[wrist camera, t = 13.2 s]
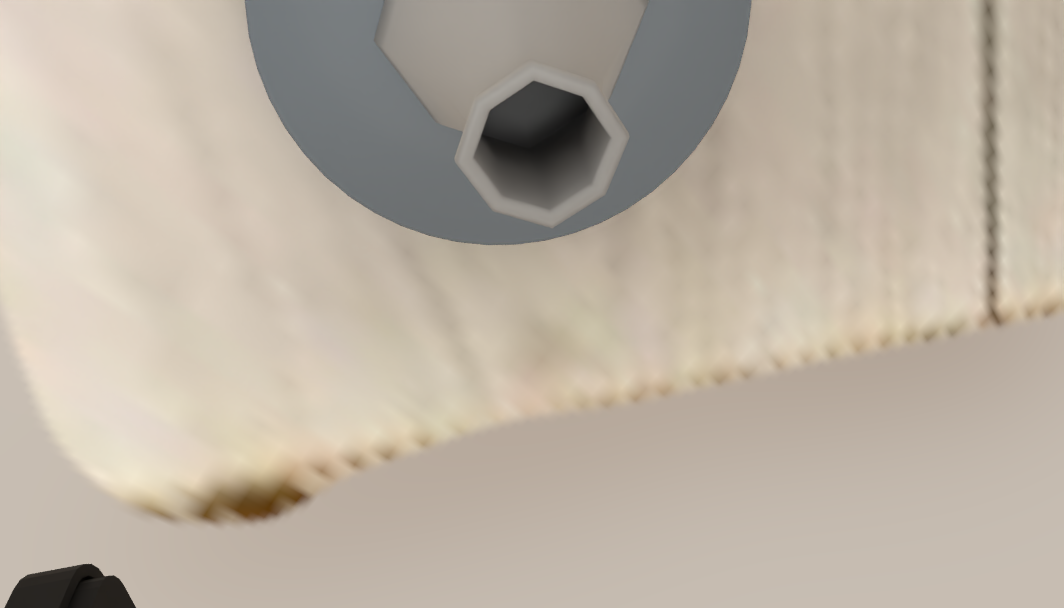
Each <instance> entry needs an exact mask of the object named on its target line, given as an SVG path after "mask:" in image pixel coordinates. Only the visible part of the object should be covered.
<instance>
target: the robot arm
mask: <svg viewBox="0 0 1064 608" xmlns="http://www.w3.org/2000/svg"><path fill="white" fill-rule="evenodd" d="M5 608H136V607H135V605H134V603H133V601H132V600H131V598H130V596H129V594H128V592H127V590H126V588H125V587H124V585H123V583H122V582H121V581H120V579H119V578H117V577H115V576H104V575H103V574H102V572H101V571H100V570H99V568H97V567H95V566H94V565H92V564H83V565H77V566H72V567H67V568H61V569H56V570H51V571H45V572H40V573H35V574H30V575H27V576H25V577H24V578H22V579H21V580H20V581H19V583H18V584H17V585H16V587H15V588H14V590H13V592H12V594H11V596H10V598H9V600H8V602H7V604H6V606H5Z"/></svg>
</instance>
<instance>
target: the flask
mask: <svg viewBox="0 0 1064 608" xmlns="http://www.w3.org/2000/svg"><path fill="white" fill-rule="evenodd" d="M648 3H649V0H385V1H384V5H383V9H382V12H381V16H380V19H379V23H378V27H377V30H376V34H375V38H374V42H375V43H376V45H377V46H378V47H379V48H380V50H381V51H382V52H383V54H384V55H385V56H386V58H387V59H388V60H389V62H390V63H391V64H392V65H393V67H394V68H395V69H396V71H397V72H398V73H399V75H400V76H401V77H402V79H403V80H404V81H405V83H406V84H407V85H408V86H409V88H410V89H411V90H412V92H413V93H414V94H415V96H416V97H417V98H418V100H419V101H420V102H421V104H422V105H423V106H424V107H425V109H426V110H427V111H428V113H429V114H430V115H431V117H432V118H433V119H434V121H435V122H437V123H439V124H441V125H444V126H447V127H450V128H453V129H456V130H459V131H462V132H463V134H462V137H461V140H460V143H459V146H458V149H457V152H456V155H455V158H454V159H455V163H456V164H457V165H458V167H459V168H460V169H461V171H462V172H463V173H464V175H465V176H466V177H467V178H468V180H469V181H470V182H471V184H472V185H473V186H474V188H475V189H476V190H477V191H478V193H479V194H480V195H481V197H482V198H483V199H484V201H485V202H486V203H487V204H488V206H489V207H490V208H491V210H492V211H494V212H497V213H501V214H504V215H508V216H511V217H515V218H518V219H522V220H525V221H529V222H532V223H536V224H539V225H543V226H546V227H550V228H554V227H555V226H557V225H558V224H560V223H562V222H563V221H565V220H566V219H568V218H569V217H571V216H573V215H574V214H576V213H577V212H579V211H580V210H582V209H584V208H585V207H587V206H588V205H590V204H592V203H593V202H595V201H596V200H598V199H599V198H601V197H603V196H604V195H606V192H607V190H608V188H609V185H610V183H611V180H612V178H613V176H614V173H615V171H616V168H617V166H618V164H619V161H620V159H621V156H622V154H623V152H624V149H625V147H626V145H627V142H628V140H629V137H630V136H629V133H628V131H627V130H626V128H625V127H624V125H623V124H622V122H621V120H620V119H619V117H618V116H617V114H616V113H615V111H614V110H613V108H612V107H611V105H610V104H609V102H608V100H609V98H610V97H611V95H612V93H613V90H614V88H615V85H616V83H617V80H618V78H619V75H620V73H621V70H622V68H623V65H624V63H625V60H626V58H627V55H628V53H629V50H630V48H631V45H632V43H633V40H634V38H635V35H636V33H637V30H638V28H639V25H640V23H641V20H642V18H643V15H644V13H645V10H646V8H647V5H648Z"/></svg>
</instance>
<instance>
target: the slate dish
mask: <svg viewBox="0 0 1064 608" xmlns="http://www.w3.org/2000/svg"><path fill="white" fill-rule="evenodd" d="M384 1H385V0H245V6H246V15H247V23H248V31H249V38H250V42H251V46H252V49H253V53H254V57H255V61H256V65H257V69H258V71H259V74H260V76H261V79H262V82H263V84H264V87H265V89H266V92H267V94H268V97H269V99H270V101H271V103H272V105H273V106H274V108H275V110H276V112H277V114H278V116H279V117H280V119H281V121H282V123H283V125H284V126H285V128H286V129H287V131H288V132H289V134H290V135H291V136H292V138H293V139H294V141H295V142H296V143H297V145H298V146H299V147H300V149H301V150H302V152H303V153H304V154H305V155H306V156H307V157H308V158H309V159H310V161H311V162H312V163H313V164H314V165H315V166H316V167H317V168H318V169H319V170H320V171H321V172H322V173H323V174H324V176H326V177H327V178H328V179H329V180H330V181H331V182H333V183H334V184H335V185H336V186H337V187H339V188H340V189H341V190H342V191H343V192H345V193H346V194H347V195H348V196H350V197H351V198H353V199H354V200H356V201H357V202H359V203H360V204H362V205H363V206H365V207H366V208H368V209H370V210H371V211H373V212H374V213H376V214H378V215H380V216H382V217H384V218H386V219H388V220H390V221H393V222H395V223H397V224H399V225H401V226H403V227H406V228H409V229H412V230H415V231H418V232H420V233H423V234H426V235H429V236H433V237H438V238H442V239H447V240H451V241H456V242H464V243H473V244H483V245H510V244H523V243H530V242H538V241H545V240H549V239H553V238H557V237H561V236H565V235H569V234H573V233H575V232H578V231H581V230H583V229H586V228H588V227H591V226H594V225H596V224H599V223H601V222H603V221H605V220H607V219H609V218H611V217H613V216H615V215H616V214H618V213H620V212H622V211H624V210H626V209H628V208H629V207H631V206H632V205H634V204H635V203H636V202H638V201H639V200H641V199H642V198H644V197H645V196H647V195H648V194H650V193H651V192H652V191H653V190H655V189H656V188H657V187H658V186H659V185H660V184H661V183H663V182H664V181H665V180H666V179H667V178H668V177H669V176H671V175H672V174H673V173H674V172H675V171H676V170H677V169H678V168H679V166H680V165H681V164H682V163H683V162H684V161H685V160H686V159H687V158H688V157H689V155H690V154H691V153H692V152H693V151H694V150H695V148H696V147H697V146H698V144H699V143H700V141H701V140H702V139H703V137H704V136H705V134H706V133H707V132H708V130H709V129H710V127H711V126H712V124H713V123H714V121H715V119H716V117H717V115H718V113H719V111H720V110H721V108H722V106H723V104H724V102H725V100H726V99H727V97H728V94H729V91H730V89H731V86H732V84H733V81H734V79H735V76H736V74H737V71H738V69H739V65H740V61H741V58H742V54H743V50H744V46H745V42H746V38H747V33H748V25H749V17H750V9H751V0H649V3H648V5H647V8H646V10H645V13H644V15H643V18H642V20H641V23H640V25H639V28H638V30H637V33H636V35H635V38H634V40H633V43H632V45H631V48H630V50H629V53H628V55H627V58H626V60H625V63H624V65H623V68H622V70H621V73H620V75H619V78H618V80H617V83H616V85H615V88H614V90H613V93H612V95H611V97H610V98H609V100H608V102H609V104H610V105H611V107H612V108H613V110H614V111H615V113H616V114H617V116H618V117H619V119H620V120H621V122H622V124H623V125H624V127H625V128H626V130H627V131H628V133H629V136H630V137H629V140H628V142H627V145H626V147H625V149H624V152H623V154H622V156H621V159H620V161H619V164H618V166H617V168H616V171H615V173H614V176H613V178H612V180H611V183H610V185H609V188H608V190H607V192H606V195H604V196H603V197H601V198H599V199H598V200H596V201H595V202H593V203H592V204H590V205H588V206H587V207H585V208H584V209H582V210H580V211H579V212H577V213H576V214H574V215H573V216H571V217H569V218H568V219H566V220H565V221H563V222H562V223H560V224H558V225H557V226H555V227H554V228H550V227H546V226H543V225H539V224H536V223H532V222H529V221H525V220H522V219H518V218H515V217H511V216H508V215H504V214H501V213H497V212H494V211H492V210H491V208H490V207H489V206H488V204H487V203H486V202H485V201H484V199H483V198H482V197H481V195H480V194H479V193H478V191H477V190H476V189H475V188H474V186H473V185H472V184H471V182H470V181H469V180H468V178H467V177H466V176H465V175H464V173H463V172H462V171H461V169H460V168H459V167H458V165H457V164H456V163H455V159H454V158H455V155H456V152H457V149H458V146H459V143H460V140H461V137H462V134H463V132H462V131H459V130H456V129H453V128H450V127H447V126H444V125H441V124H439V123H437V122H435V121H434V119H433V118H432V117H431V115H430V114H429V113H428V111H427V110H426V109H425V107H424V106H423V105H422V104H421V102H420V101H419V100H418V98H417V97H416V96H415V94H414V93H413V92H412V90H411V89H410V88H409V86H408V85H407V84H406V83H405V81H404V80H403V79H402V77H401V76H400V75H399V73H398V72H397V71H396V69H395V68H394V67H393V65H392V64H391V63H390V62H389V60H388V59H387V58H386V56H385V55H384V54H383V52H382V51H381V50H380V48H379V47H378V46H377V45H376V43H375V42H374V38H375V34H376V30H377V27H378V23H379V19H380V16H381V12H382V9H383V5H384Z"/></svg>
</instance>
